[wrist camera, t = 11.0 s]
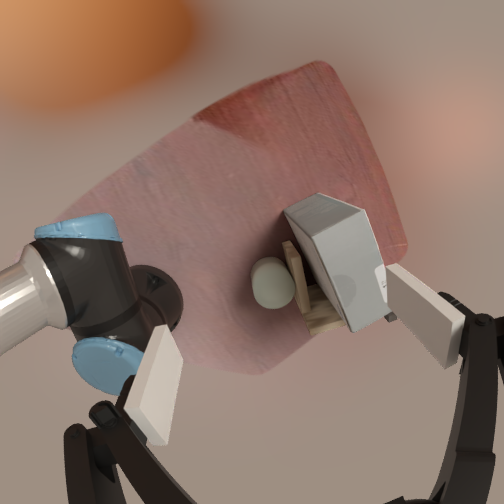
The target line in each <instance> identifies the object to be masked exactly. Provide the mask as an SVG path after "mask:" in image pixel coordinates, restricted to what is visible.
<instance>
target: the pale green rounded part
mask: <svg viewBox="0 0 504 504" xmlns="http://www.w3.org/2000/svg"><path fill="white" fill-rule="evenodd" d="M250 276H251V282H252V288H253V293H254V297H255V299H256V301H257V302H258V303H259V304H260V305H261V306H263V307H265V308H269V309H277V308H281V307H283V306H285V305H287V304H288V303H289V302H290V301H291V300H292V298H293V296H294V294H295V283H294V281H293V279H292V277H291V275H290V273H289V271H288V269H287V267H286V265H285V264H284V263H283V262H282V261H281V260H280V259H278V258H275V257H265V258H262V259H260V260H258V261H257V262H256V263H255V264H254V265H253V267H252V269H251V274H250Z"/></svg>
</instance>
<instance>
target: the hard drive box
mask: <svg viewBox="0 0 504 504" xmlns="http://www.w3.org/2000/svg"><path fill="white" fill-rule="evenodd" d="M283 212H284V214H285V216H286V218H287V220H288V222H289V224H290V226H291V228H292V231H293V233H294V235H295V237H296V239H297V241H298V243H299V246H300V248H301V250H302V252H303V254H304V256H305V259H306V261H307V263H308V265H309V267H310V270H311V272H312V274H313V276H314V278H315V281H316V282H317V284H318V285H319V286H320V288H321V289H322V291H323V292H324V294H325V295H326V296H327V298H328V299H329V301H330V302H331V303H332V305H333V306H334V308H335V309H336V311H337V312H338V314H339V315H340V316H341V318H342V319H343V321H344V322H345V324H346V325H347V327H348V328H349V330H350V331H351V332H352V333H355V332H357V331H359V330H360V329H362V328H364V327H366V326H368V325H369V324H371V323H373V322H375V321H376V320H378V319H380V318H381V317H383V316H385V315H387V314H388V313H390V312H392V310H391V309H390V308H389V307H388V306H387V284H386V269H385V266H384V263H383V260H382V257H381V254H380V251H379V248H378V245H377V242H376V239H375V236H374V234H373V231H372V228H371V225H370V223H369V220H368V217H367V215H366V212H365V210H364V209H361V208H358V207H356V206H353V205H351V204H348V203H345V202H343V201H340V200H337V199H335V198H332V197H329V196H327V195H324V194H321V193H316V194H314V195H312V196H310V197H307V198H305V199H303V200H301V201H299V202H297V203H295V204H293V205H291V206H289V207H287V208H286V209H284V210H283Z"/></svg>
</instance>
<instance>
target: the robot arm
mask: <svg viewBox="0 0 504 504" xmlns="http://www.w3.org/2000/svg"><path fill="white" fill-rule="evenodd" d="M34 238H35V239H36V241H34V242H31V243H29V244H27V245H25V246H24V249H23V251H22V254H21V257H20V260H19V261H18V262H17V263H16V264H14V265H12V266H10V267H8V268H6V269H4V270H2V271H0V356H1V355H2V354H4V353H5V352H7V351H8V350H10V349H11V348H13V347H14V346H16V345H17V344H19V343H21V342H22V341H24V340H25V339H27V338H28V337H30V336H31V335H33V334H35V333H36V332H37V331H39V330H41V329H42V328H44V327H46V326H52V327H55V328H58V329H62V330H63V329H65V328H67V327H68V326H70V327H71V329H72V332H73V334H74V336H75V338H76V340H77V343H76V344H75V345H74V347H73V354H72V362H73V365H74V367H75V369H76V371H77V372H78V374H79V375H80V376H81V377H82V378H83V379H84V380H85V381H86V382H87V383H89V384H90V385H91V386H93V387H94V388H96V389H99V390H101V391H103V392H105V393H108V394H111V395H116V396H119V397H118V399H117V402H116V404H115V406H114V405H113V403H111V402H110V401H106V400H105V401H101V402H98V403H96V404H95V405H94V406H93V407H92V408H91V409H90V411H89V418H90V419H91V420H92V421H93V423H94V424H95V425H96V426H97V427H95V428H91V429H86V428H85V427H84V426H83V425H82V424H79V423H77V424H73V425H71V426H70V427H69V428H68V429H67V430H66V431H65V433H64V460H65V475H66V485H67V494H68V501H69V504H126V501H125V497H124V494H123V490H122V487H121V483H120V480H119V476H118V473H117V468H116V464H119V466H120V467H121V469H122V471H123V472H124V474H125V475H126V477H127V478H128V480H129V482H130V483H131V485H132V486H133V487H134V489H135V490H136V492H137V493H138V495H139V496H140V497H141V499H142V500H143V502H144V503H145V504H197V503H196V502H195V501H194V500H193V499H192V498H191V497H190V496H189V495H188V494H187V493H186V492H185V490H184V489H183V488H182V487H181V486H180V485H179V484H178V483H177V482H176V481H175V480H174V478H173V477H172V476H171V475H170V474H169V473H168V472H167V470H166V469H165V468H164V467H163V466H162V465H161V463H160V462H159V461H158V460H157V458H156V457H155V456H154V455H153V454H152V452H151V451H150V450H149V448H147V446H146V441H147V439H148V440H149V441H150V443H151V444H152V445H154V446H156V445H168V439H169V433H170V428H171V422H172V416H173V411H174V405H175V400H176V395H177V390H178V384H179V380H180V375H181V370H182V365H183V358H182V356H181V354H180V352H179V350H178V348H177V346H176V344H175V341H174V339H173V337H172V335H171V333H170V332H171V331H173V330H174V329H175V327H176V326H177V325H178V323H179V321H180V318H181V315H182V311H183V297H182V294H181V291H180V289H179V287H178V286H177V284H176V283H175V281H174V280H173V279H172V278H171V277H170V276H169V275H168V274H166V273H165V272H163V271H162V270H160V269H158V268H155V267H152V266H147V265H136V266H132V267H129V264H128V261H127V258H126V255H125V252H124V249H123V246H122V242H123V240H122V238H120V236H119V233H118V230H117V227H116V224H115V221H114V219H113V218H112V216H110V215H109V214H107V213H97V214H92V215H87V216H83V217H78V218H74V219H70V220H66V221H62V222H57V223H53V224H49V225H45V226H41V227H38V228H36V229H35V235H34ZM385 268H386V284H387V306H388V307H389V308H390V309H391V310H392V311H393V313H394V314H395V315H396V316H397V317H398V318H399V319H400V320H401V321H402V322H403V323H404V324H405V325H406V326H407V328H408V329H409V330H410V331H411V332H412V333H413V334H414V335H415V336H416V337H417V339H418V340H419V341H420V342H421V343H422V344H423V345H424V346H425V347H426V349H427V350H428V351H429V352H430V353H431V354H432V355H433V357H434V358H435V359H436V360H437V361H438V362H439V363H440V365H442V367H443V368H444V369H446V368H448V367H450V366H452V365H454V364H456V363H457V359H458V355H459V354H460V355H461V356H462V357H463V361H462V365H461V369H460V373H459V374H461V376H460V384H459V391H458V398H457V403H456V409H455V414H454V419H453V424H452V429H451V433H450V437H449V441H448V445H447V449H446V453H445V456H444V460H443V463H442V467H441V470H440V473H439V476H438V479H437V482H436V484H435V487H434V489H433V491H432V493H431V495H430V498H429V500H426V499H414V500H406V501H405V500H404V498H403V496H401V497H399V498H397V499H395V500H392V501H390V502H387V503H385V504H486V501H487V498H488V494H489V490H490V485H491V481H492V476H493V471H494V466H495V458H496V457H495V454H494V453H493V452H492V449H493V441H494V433H495V424H496V412H497V395H498V367H499V370H500V374H501V377H502V380H503V384H504V316H503V317H499V318H495V319H494V318H493V317H492V316H490V315H488V314H483V313H481V314H475V313H473V312H472V311H471V310H470V309H468V308H467V307H466V306H464V305H463V304H462V303H460V302H459V301H458V300H456V299H455V298H454V297H452V296H451V295H450V294H447V293H444V292H439V293H436V292H434V291H433V290H432V289H430V288H429V287H428V286H427V285H425V284H424V283H423V282H421V281H420V280H419V279H417V278H416V277H415V276H413V275H412V274H410V273H409V272H408V271H406V270H405V269H403V268H402V267H401V266H399V265H398V264H397V263H395V264H392V265H389V266H386V267H385Z"/></svg>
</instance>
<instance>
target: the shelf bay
mask: <svg viewBox="0 0 504 504" xmlns="http://www.w3.org/2000/svg"><path fill="white" fill-rule="evenodd" d="M282 245H283V250H284V254H285V258H286V263H287V267H288V271H289V273H290V275H291V277H292V279H293V281H294V283H295V294H294V298H295V300H296V302H297V305H298V307H299V309H300V312H301V314H302V316H303V319H304V321H305V323H306V326H307V328H308V330H309V333H310V335H315V334H318V333H322V332H325V331H328V330H331V329H335V328H338V327H341V326H344V325H346V324H345V322H344V321H343V319H342V318H341V316H340V315H339V314H338V312H337V311H336V309H335V308H334V306H333V305H332V303H331V302H330V301H329V299H328V298H327V296H326V295H325V294H324V292H323V291H322V289H321V288H320V286H319V285H318V284H315V285H312V286H308V287H307V286H306V281H305V276H304V271H303V266H302V261H301V256H300V255H299V253H298V252H297V250H296V249H295V247H294V246H293V244H292V243H291V241H286V242H282ZM384 317H385V319H386V320H387V321H388V322H392V321H394V320H397V316H396V315H395V314H394V313H393V311H392V312H390V313H388V314H387V315H385V316H384Z"/></svg>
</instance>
